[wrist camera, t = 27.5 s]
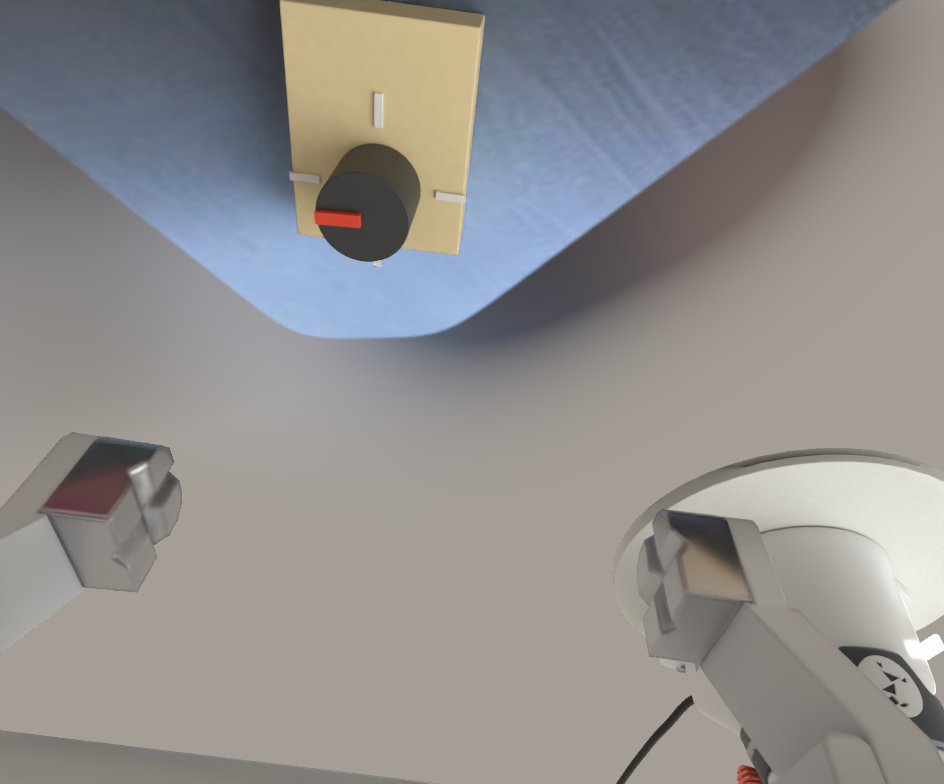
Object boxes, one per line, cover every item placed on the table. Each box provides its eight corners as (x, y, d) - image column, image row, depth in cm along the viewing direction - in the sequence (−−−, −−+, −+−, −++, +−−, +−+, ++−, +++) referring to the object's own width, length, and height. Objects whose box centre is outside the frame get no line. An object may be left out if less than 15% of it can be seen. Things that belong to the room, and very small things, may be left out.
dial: (420, 146, 28) (407, 179, 25) (420, 230, 30) (408, 269, 27) (331, 139, 28) (307, 170, 25) (338, 223, 30) (318, 261, 27)
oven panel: (462, 248, 34) (457, 277, 31) (312, 228, 34) (295, 256, 31) (487, 14, 27) (483, 28, 24) (298, -12, 27) (274, -1, 24)
